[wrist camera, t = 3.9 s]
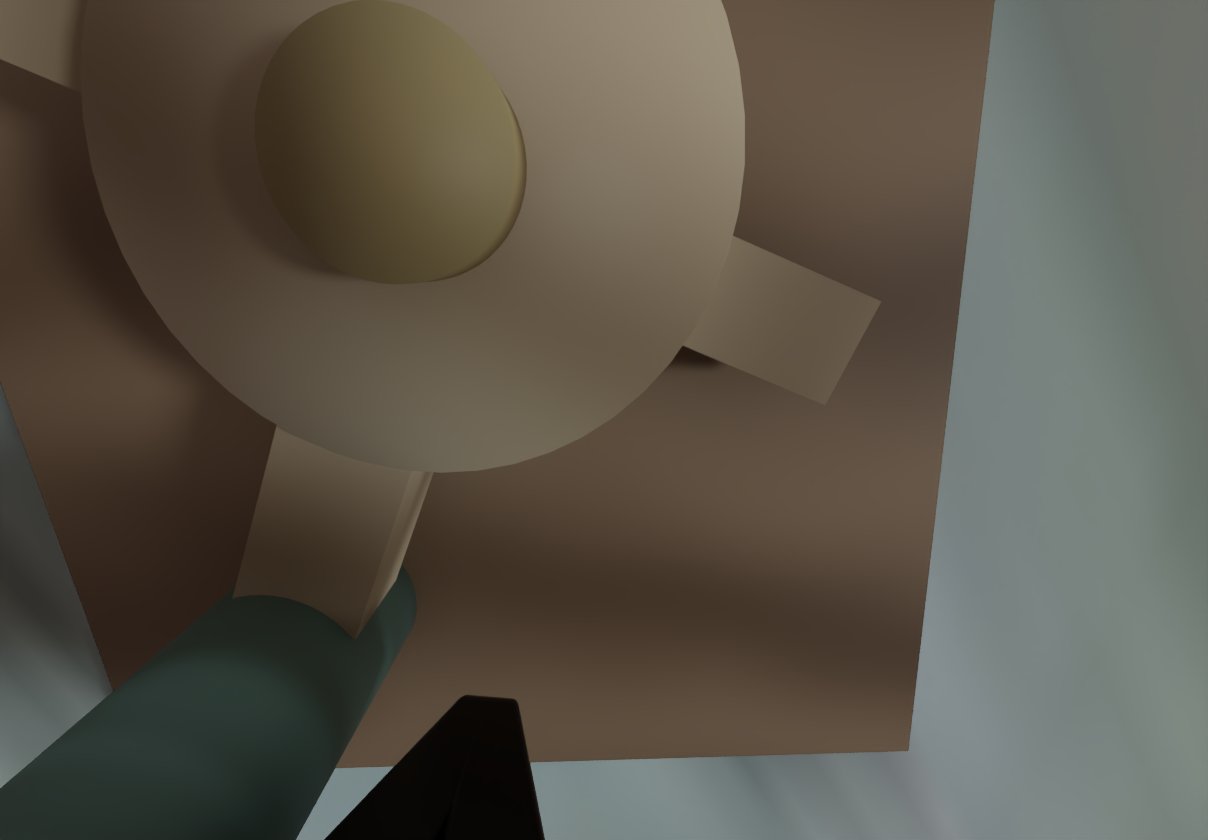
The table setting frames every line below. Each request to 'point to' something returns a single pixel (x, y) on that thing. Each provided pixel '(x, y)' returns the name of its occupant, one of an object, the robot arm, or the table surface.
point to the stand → (585, 466)
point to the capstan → (390, 321)
